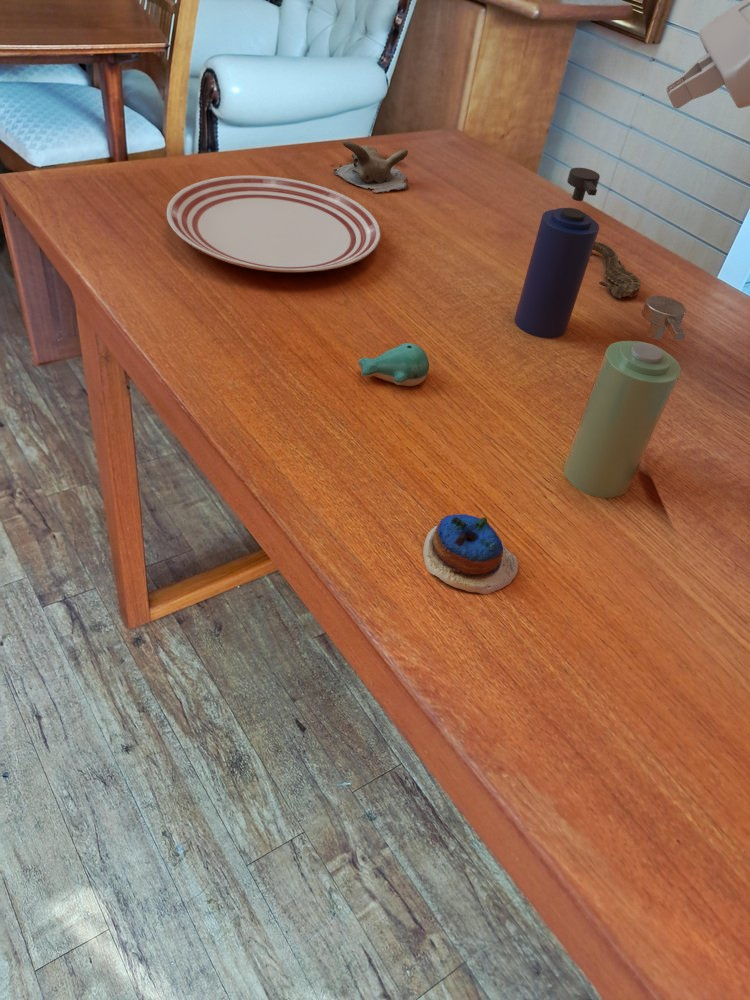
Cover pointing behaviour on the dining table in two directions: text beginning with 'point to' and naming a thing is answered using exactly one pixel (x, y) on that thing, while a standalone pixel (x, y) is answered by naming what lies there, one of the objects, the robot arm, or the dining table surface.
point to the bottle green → (620, 417)
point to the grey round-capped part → (664, 317)
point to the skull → (373, 169)
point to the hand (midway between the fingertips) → (669, 98)
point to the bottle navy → (555, 272)
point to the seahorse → (617, 274)
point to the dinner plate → (273, 223)
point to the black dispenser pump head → (583, 182)
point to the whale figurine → (398, 365)
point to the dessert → (469, 555)
